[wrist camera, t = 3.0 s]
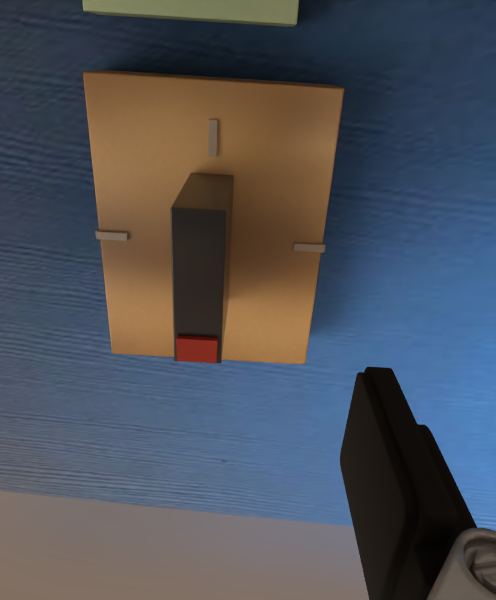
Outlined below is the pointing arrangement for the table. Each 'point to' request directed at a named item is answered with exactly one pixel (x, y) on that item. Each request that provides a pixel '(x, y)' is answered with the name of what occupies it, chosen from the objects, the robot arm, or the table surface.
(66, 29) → the table surface
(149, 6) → the button block
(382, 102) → the table surface
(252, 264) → the panel
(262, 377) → the table surface
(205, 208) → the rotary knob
